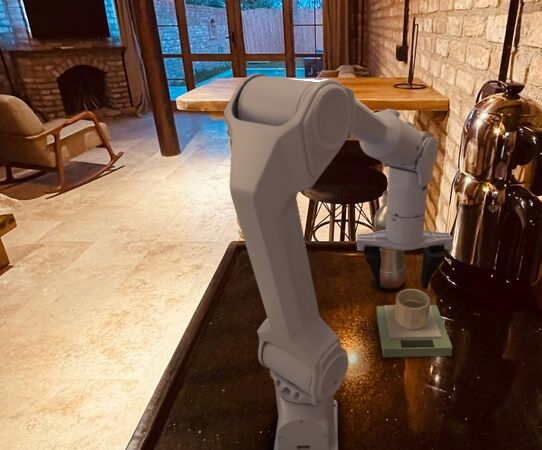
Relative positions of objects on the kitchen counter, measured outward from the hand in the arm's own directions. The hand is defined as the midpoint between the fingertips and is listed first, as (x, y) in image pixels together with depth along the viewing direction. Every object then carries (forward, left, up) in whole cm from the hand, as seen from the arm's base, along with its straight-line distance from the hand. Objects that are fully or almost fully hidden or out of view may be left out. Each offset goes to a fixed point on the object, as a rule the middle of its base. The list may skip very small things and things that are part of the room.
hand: (400, 285), depth 67 cm
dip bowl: (0, -2, -7) cm, 7 cm away
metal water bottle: (+14, 0, -10) cm, 17 cm away
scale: (-1, -2, -9) cm, 10 cm away
